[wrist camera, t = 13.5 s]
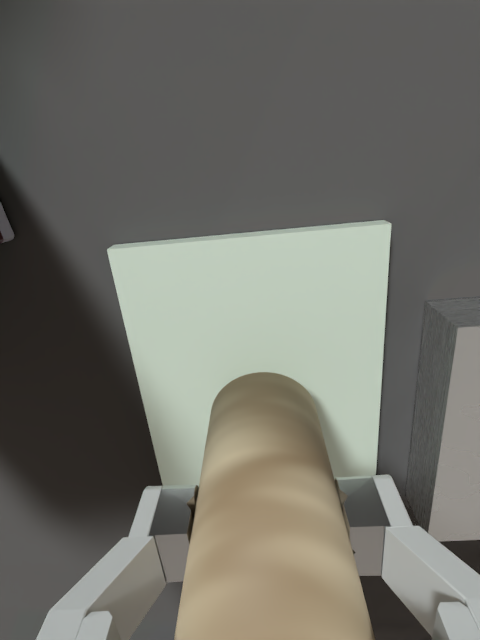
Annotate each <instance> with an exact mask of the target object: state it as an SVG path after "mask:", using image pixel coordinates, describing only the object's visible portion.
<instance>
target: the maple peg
mask: <svg viewBox="0 0 480 640" xmlns="http://www.w3.org/2000/svg"><path fill="white" fill-rule="evenodd" d="M174 640H375V637H374V633H373V629H372V625H371V621H370V617H369V613H368V609H367V605H366V601H365V598H364V594H363V590H362V586H361V582H360V578H359V574H358V570H357V566H356V562H355V558H354V554H353V551H352V547H351V543H350V539H349V535H348V531H347V528H346V524H345V520H344V516H343V511H342V508H341V504H340V500H339V496H338V492H337V488H336V484H335V480H334V476H333V472H332V468H331V464H330V461H329V457H328V453H327V449H326V445H325V441H324V437H323V433H322V429H321V425H320V421H319V417H318V414H317V410H316V406H315V403H314V400H313V398H312V396H311V395H310V393H309V392H308V391H307V390H306V389H305V388H304V387H303V386H302V385H301V384H300V383H298V382H297V381H295V380H294V379H292V378H289V377H287V376H284V375H281V374H277V373H271V372H257V373H251V374H247V375H243V376H241V377H238V378H236V379H234V380H232V381H231V382H230V383H228V384H227V385H226V386H224V387H223V388H222V389H221V391H220V392H219V393H218V394H217V396H216V398H215V400H214V402H213V405H212V409H211V414H210V420H209V427H208V433H207V439H206V445H205V451H204V457H203V464H202V470H201V476H200V482H199V488H198V495H197V501H196V507H195V513H194V519H193V526H192V532H191V538H190V544H189V550H188V557H187V563H186V569H185V575H184V581H183V588H182V594H181V600H180V606H179V612H178V619H177V625H176V631H175V637H174Z"/></svg>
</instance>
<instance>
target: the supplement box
mask: <svg viewBox="0 0 480 640" xmlns="http://www.w3.org/2000/svg"><path fill="white" fill-rule="evenodd" d="M13 238H14V233H13V230H12V228H11V226H10V223H9V221H8V219H7V216H6V214H5V212H4V209H3V207H2V205H1V202H0V243H4V242H7V241H10V240H12V239H13Z"/></svg>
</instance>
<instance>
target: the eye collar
mask: <svg viewBox="0 0 480 640" xmlns="http://www.w3.org/2000/svg"><path fill="white" fill-rule="evenodd" d="M406 497H407V500H408V502H409V504H410V506H411V508H412V511H413V513H414V515H415V517H416V519H417V521H418V524H419V526H420V527H421V528H422V529H424V530H425V531H426V532H427V533H429V534H430V535H431V536H432V537H434V538H435V539H436V540H437V541H463V540H480V297H475V298H462V299H449V300H437V301H426V305H425V314H424V324H423V333H422V343H421V352H420V362H419V371H418V381H417V390H416V400H415V409H414V419H413V428H412V438H411V447H410V457H409V466H408V476H407V485H406Z"/></svg>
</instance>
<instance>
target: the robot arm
mask: <svg viewBox="0 0 480 640" xmlns="http://www.w3.org/2000/svg"><path fill="white" fill-rule="evenodd" d="M335 484H336V488H337V492H338V496H339V500H340V504H341V508H342V511H343V516H344V520H345V524H346V528H347V531H348V535H349V539H350V543H351V547H352V551H353V554H354V558H355V562H356V566H357V570H358V574H359V576H382V579H383V580H384V581H385V582H386V583H387V585H388V586H389V587H390V588H391V589H392V590H393V592H394V593H395V594H396V595H397V596H398V598H399V599H400V600H401V601H402V602H403V603H404V605H405V606H406V607H407V608H408V609H409V611H410V612H411V613H412V614H413V615H414V616H415V618H416V619H417V620H418V621H419V622H420V624H421V625H422V626H423V627H424V628H425V629H426V631H427V632H428V633H429V634H430V635H431V637H432V640H480V575H479V574H478V573H477V572H475V571H474V570H473V569H472V568H471V567H469V566H468V565H467V564H466V563H464V562H463V561H462V560H461V559H459V558H458V557H457V556H456V555H455V554H453V553H452V552H451V551H450V550H448V549H447V548H446V547H445V546H443V545H442V544H441V543H440V542H438V541H437V540H436V539H435V538H434V537H432V536H431V535H430V534H429V533H427V532H426V531H425V530H424V529H422V528H421V527H420V526H413V524H412V522H411V519H410V517H409V515H408V513H407V510H406V508H405V506H404V504H403V501H402V499H401V497H400V495H399V492H398V490H397V488H396V486H395V483H394V481H393V479H392V477H391V476H390V475H372V476H354V477H337V478H335ZM198 488H199V487H198V485H164V486H147V487H146V488H145V489H144V491H143V493H142V497H141V500H140V503H139V506H138V509H137V512H136V515H135V518H134V521H133V524H132V527H131V530H130V533H129V536H128V537H123V538H122V539H121V540H120V541H119V542H118V543H117V544H116V545H115V546H114V547H113V548H112V549H111V550H110V551H109V552H108V553H107V554H106V555H105V556H104V557H103V558H102V559H101V560H100V561H99V562H98V563H97V564H96V565H95V566H94V567H93V568H92V569H91V570H90V571H89V572H88V573H87V574H86V575H85V576H84V577H83V578H82V579H81V580H80V581H79V582H78V583H77V584H76V585H75V586H74V587H73V588H72V589H71V590H70V591H69V592H68V593H67V594H66V595H65V596H63V597H62V598H61V599H60V600H59V601H58V602H57V603H56V604H55V605H54V606H53V607H52V608H51V609H50V610H49V612H48V614H47V617H46V619H45V621H44V623H43V625H42V628H41V630H40V632H39V634H38V636H37V639H36V640H129V638H130V637H131V635H132V634H133V632H134V631H135V630H136V628H137V627H138V625H139V624H140V622H141V621H142V619H143V618H144V616H145V615H146V614H147V612H148V611H149V609H150V608H151V606H152V605H153V603H154V602H155V600H156V599H157V598H158V596H159V595H160V593H161V592H162V590H163V589H164V587H165V586H166V582H182V581H184V575H185V569H186V563H187V557H188V550H189V544H190V538H191V532H192V526H193V519H194V513H195V507H196V501H197V495H198Z"/></svg>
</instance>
